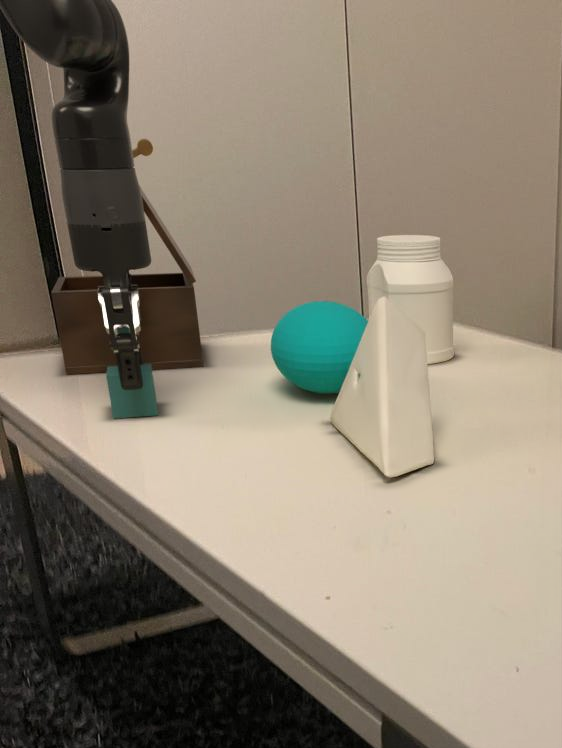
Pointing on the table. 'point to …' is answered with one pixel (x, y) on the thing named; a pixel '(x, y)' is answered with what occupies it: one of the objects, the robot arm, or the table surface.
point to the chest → (158, 323)
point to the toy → (317, 345)
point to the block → (132, 395)
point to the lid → (146, 149)
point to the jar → (416, 288)
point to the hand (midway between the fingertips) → (133, 379)
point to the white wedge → (388, 394)
